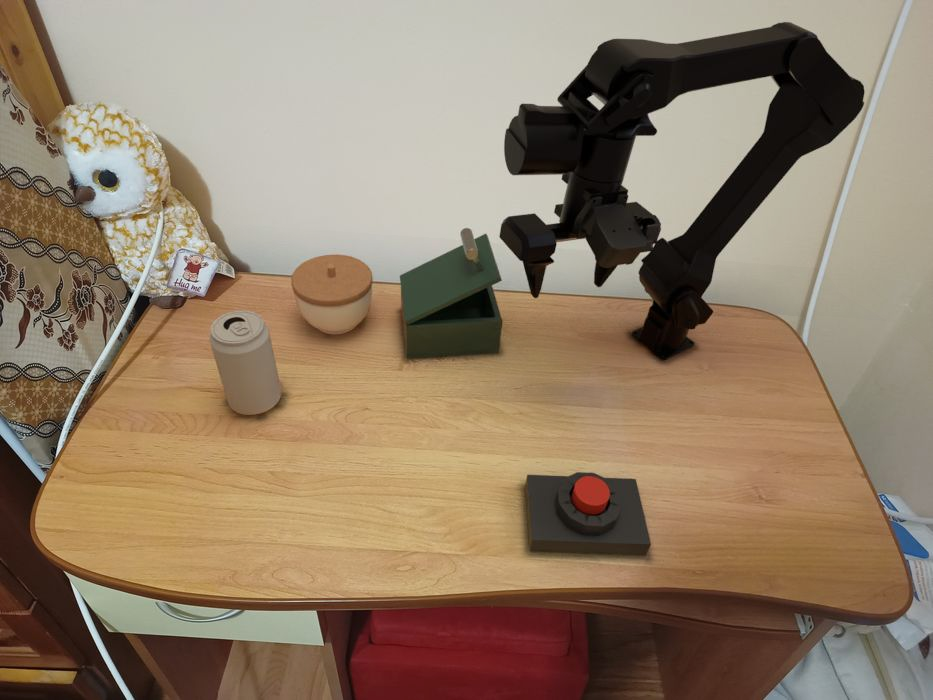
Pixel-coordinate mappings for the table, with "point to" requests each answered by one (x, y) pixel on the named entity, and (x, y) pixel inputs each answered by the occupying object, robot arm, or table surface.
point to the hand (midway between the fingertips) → (566, 290)
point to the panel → (584, 518)
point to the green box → (456, 328)
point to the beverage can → (245, 362)
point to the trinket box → (333, 292)
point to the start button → (590, 495)
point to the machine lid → (449, 277)
